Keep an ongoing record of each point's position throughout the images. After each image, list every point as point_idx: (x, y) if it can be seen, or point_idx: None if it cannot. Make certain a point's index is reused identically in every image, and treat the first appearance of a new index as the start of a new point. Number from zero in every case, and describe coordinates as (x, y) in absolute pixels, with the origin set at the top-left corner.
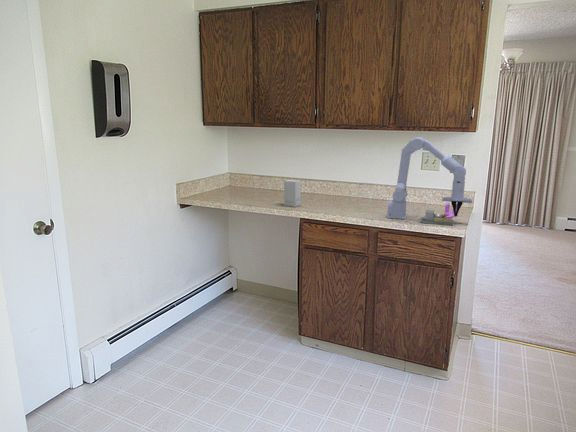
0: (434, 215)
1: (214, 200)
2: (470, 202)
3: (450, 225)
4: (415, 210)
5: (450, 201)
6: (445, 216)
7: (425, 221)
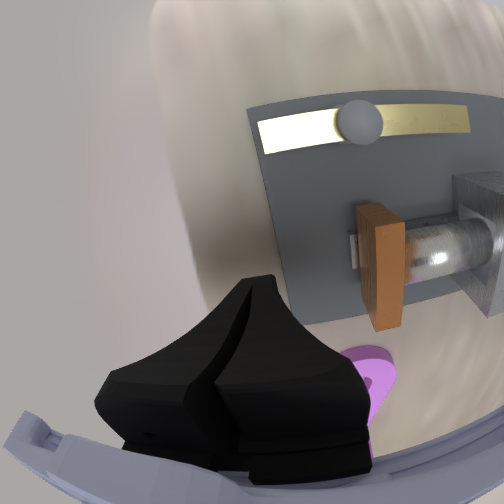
0: (475, 228)
1: None
2: (33, 424)
3: (273, 103)
4: (480, 400)
5: (389, 455)
6: (374, 218)
7: (491, 142)
